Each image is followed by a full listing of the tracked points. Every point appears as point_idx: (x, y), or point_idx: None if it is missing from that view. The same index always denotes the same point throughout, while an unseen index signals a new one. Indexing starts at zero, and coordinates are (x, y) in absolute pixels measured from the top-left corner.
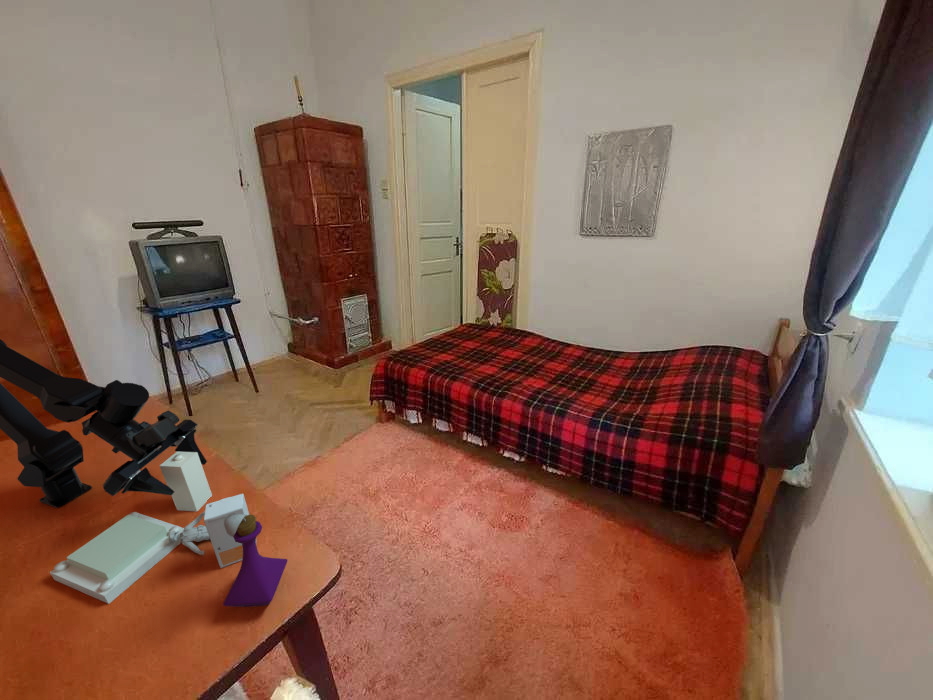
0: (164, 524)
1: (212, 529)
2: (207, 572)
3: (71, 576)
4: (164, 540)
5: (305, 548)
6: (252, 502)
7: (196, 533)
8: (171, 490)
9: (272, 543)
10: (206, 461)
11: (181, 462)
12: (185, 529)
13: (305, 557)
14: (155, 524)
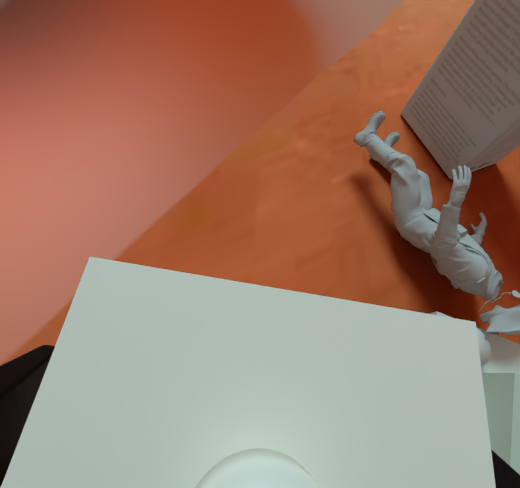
0: None
1: None
2: (512, 190)
3: None
4: (503, 367)
5: (409, 20)
6: (254, 169)
7: (471, 237)
8: None
9: (405, 78)
10: (49, 345)
11: (365, 388)
12: (489, 272)
13: (430, 17)
14: (515, 442)
